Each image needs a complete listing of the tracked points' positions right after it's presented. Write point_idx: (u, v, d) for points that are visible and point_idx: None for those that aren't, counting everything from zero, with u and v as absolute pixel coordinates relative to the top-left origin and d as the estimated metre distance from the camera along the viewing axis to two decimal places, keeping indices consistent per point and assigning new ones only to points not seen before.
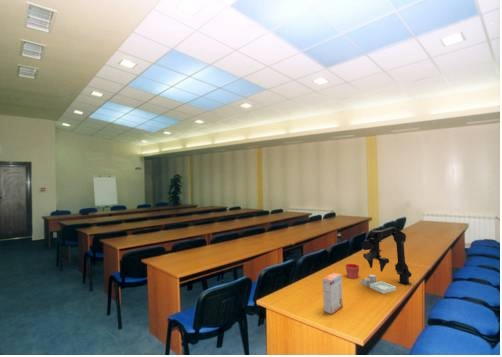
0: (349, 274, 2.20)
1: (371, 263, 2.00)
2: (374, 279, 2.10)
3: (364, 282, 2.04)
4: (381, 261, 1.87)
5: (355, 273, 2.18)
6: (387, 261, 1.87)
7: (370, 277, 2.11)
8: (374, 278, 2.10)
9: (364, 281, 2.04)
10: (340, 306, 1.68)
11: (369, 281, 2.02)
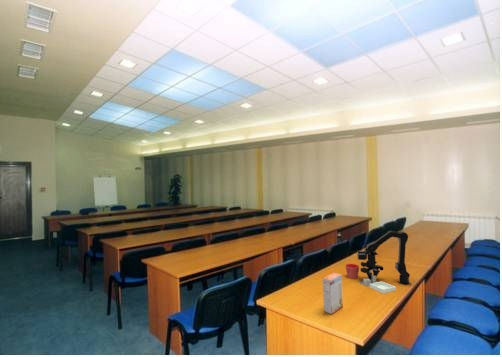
0: (349, 274, 2.20)
1: (375, 275, 2.12)
2: (374, 279, 2.10)
3: (364, 282, 2.04)
4: None
5: (355, 273, 2.18)
6: (363, 271, 2.07)
7: None
8: (374, 278, 2.10)
9: (364, 281, 2.04)
10: (340, 306, 1.68)
11: (369, 281, 2.02)
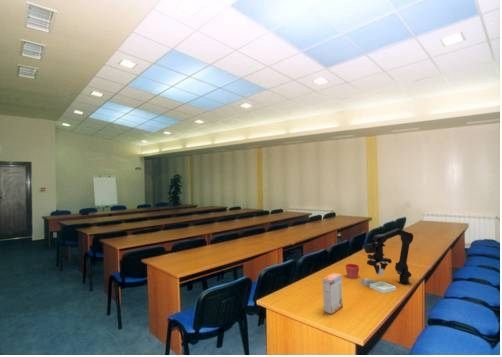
0: (349, 274, 2.20)
1: None
2: (381, 272, 2.00)
3: (364, 282, 2.04)
4: None
5: (355, 273, 2.18)
6: (370, 263, 1.98)
7: None
8: (381, 271, 2.00)
9: (364, 281, 2.04)
10: (340, 306, 1.68)
11: (369, 281, 2.02)
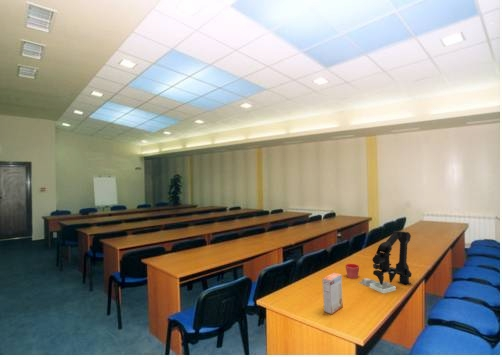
0: (349, 274, 2.20)
1: (391, 278, 1.97)
2: (388, 287, 1.93)
3: (364, 282, 2.04)
4: None
5: (355, 273, 2.18)
6: (377, 274, 1.91)
7: (384, 284, 1.95)
8: (388, 286, 1.94)
9: (364, 281, 2.04)
10: (340, 306, 1.68)
11: (369, 281, 2.02)
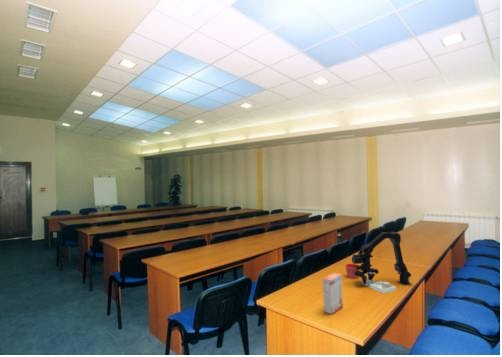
0: (349, 274, 2.20)
1: (370, 278, 2.05)
2: (388, 287, 1.93)
3: None
4: None
5: None
6: (358, 274, 2.00)
7: (384, 284, 1.95)
8: (388, 286, 1.94)
9: None
10: (340, 306, 1.68)
11: (369, 281, 2.02)
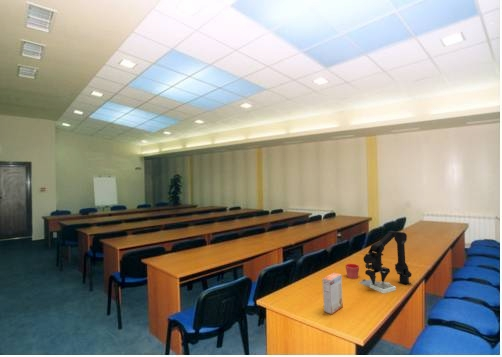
0: (349, 274, 2.20)
1: (383, 277, 1.98)
2: (388, 287, 1.93)
3: None
4: None
5: (355, 273, 2.18)
6: (369, 274, 1.92)
7: (384, 284, 1.95)
8: (388, 286, 1.94)
9: (375, 285, 1.96)
10: (340, 306, 1.68)
11: (381, 284, 1.95)
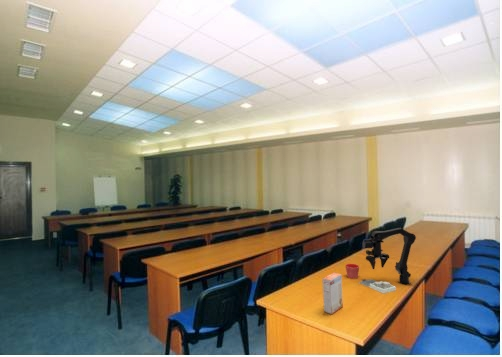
0: (349, 274, 2.20)
1: (382, 263, 2.08)
2: (388, 287, 1.93)
3: None
4: None
5: (355, 273, 2.18)
6: (369, 259, 2.02)
7: (384, 284, 1.95)
8: (388, 286, 1.94)
9: (375, 285, 1.96)
10: (340, 306, 1.68)
11: (381, 284, 1.95)
